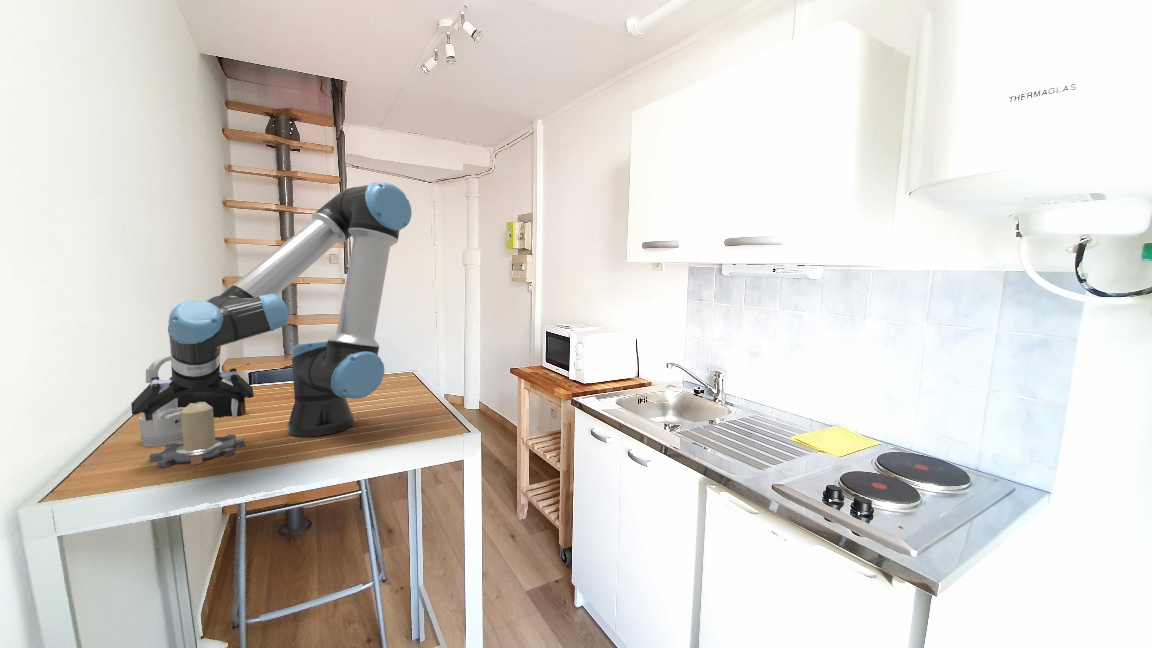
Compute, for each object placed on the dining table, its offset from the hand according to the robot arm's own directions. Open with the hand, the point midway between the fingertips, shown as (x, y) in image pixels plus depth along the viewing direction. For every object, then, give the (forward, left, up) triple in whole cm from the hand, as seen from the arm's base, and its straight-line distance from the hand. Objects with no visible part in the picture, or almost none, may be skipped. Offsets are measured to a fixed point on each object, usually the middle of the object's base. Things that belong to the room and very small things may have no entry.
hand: (196, 418), depth 102 cm
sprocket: (-2, +1, -7) cm, 8 cm away
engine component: (+14, -5, -8) cm, 17 cm away
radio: (+20, -22, -8) cm, 30 cm away
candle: (-2, +1, -6) cm, 7 cm away
